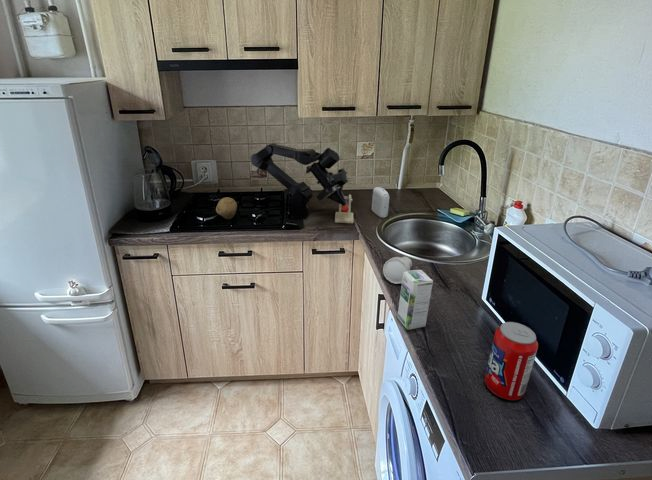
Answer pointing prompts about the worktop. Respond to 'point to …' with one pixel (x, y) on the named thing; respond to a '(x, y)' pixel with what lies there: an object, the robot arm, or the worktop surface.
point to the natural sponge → (226, 207)
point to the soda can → (511, 360)
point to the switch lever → (345, 208)
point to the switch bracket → (344, 214)
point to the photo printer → (380, 202)
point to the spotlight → (396, 269)
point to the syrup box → (414, 299)
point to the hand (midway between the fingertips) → (345, 204)
